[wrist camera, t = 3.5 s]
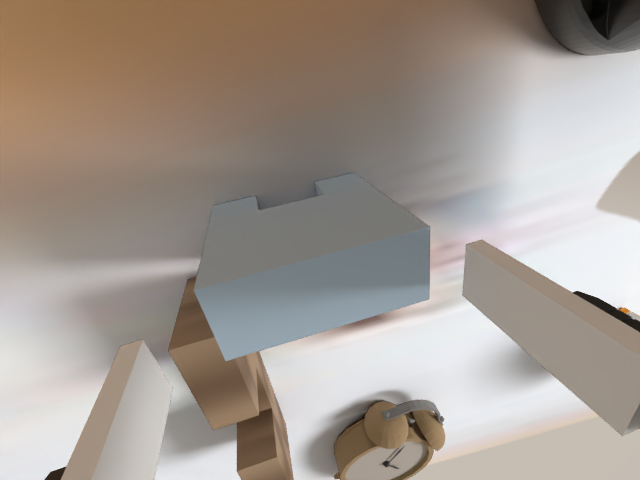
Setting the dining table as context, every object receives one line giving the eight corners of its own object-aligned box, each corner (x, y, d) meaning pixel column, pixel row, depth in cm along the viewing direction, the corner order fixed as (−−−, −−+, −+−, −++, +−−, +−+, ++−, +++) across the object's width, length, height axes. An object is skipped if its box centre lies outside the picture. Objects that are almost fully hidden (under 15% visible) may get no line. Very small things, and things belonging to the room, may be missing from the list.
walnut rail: (187, 279, 22) (167, 350, 16) (228, 268, 23) (224, 334, 16) (257, 434, 32) (262, 516, 25) (285, 424, 32) (296, 503, 26)
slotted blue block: (231, 255, 22) (225, 361, 13) (213, 205, 20) (193, 290, 12) (358, 222, 24) (429, 299, 15) (353, 172, 22) (430, 226, 13)
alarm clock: (322, 493, 35) (395, 431, 28) (316, 445, 39) (378, 380, 32) (399, 491, 39) (479, 436, 32) (386, 448, 43) (455, 391, 36)
